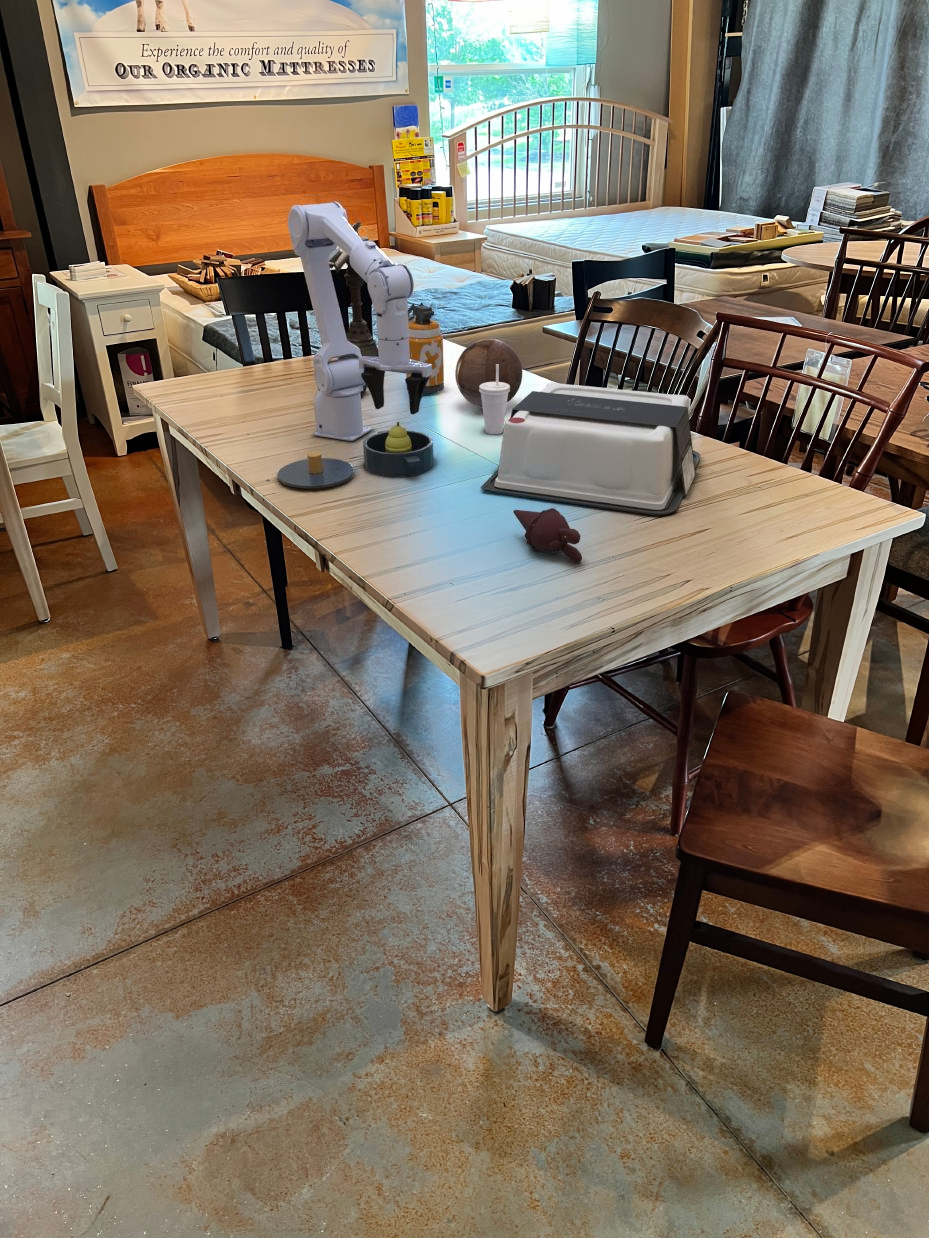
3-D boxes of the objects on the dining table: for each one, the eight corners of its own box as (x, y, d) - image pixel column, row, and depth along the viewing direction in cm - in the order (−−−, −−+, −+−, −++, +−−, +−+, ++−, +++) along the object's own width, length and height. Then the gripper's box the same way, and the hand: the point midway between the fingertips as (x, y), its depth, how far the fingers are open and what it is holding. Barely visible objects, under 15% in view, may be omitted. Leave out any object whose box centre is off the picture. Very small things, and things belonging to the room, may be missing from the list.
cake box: (477, 492, 155) (477, 424, 148) (533, 434, 181) (535, 374, 175) (674, 520, 144) (683, 448, 137) (704, 454, 170) (713, 391, 163)
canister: (416, 398, 204) (412, 310, 194) (397, 387, 212) (393, 301, 202) (450, 393, 208) (448, 306, 197) (430, 382, 216) (427, 298, 206)
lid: (287, 496, 154) (284, 472, 152) (271, 470, 166) (268, 447, 163) (364, 484, 159) (362, 460, 157) (343, 459, 170) (341, 437, 168)
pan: (381, 486, 158) (379, 463, 156) (352, 453, 173) (351, 431, 170) (448, 475, 162) (448, 452, 160) (415, 444, 177) (414, 423, 175)
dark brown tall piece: (334, 375, 222) (320, 226, 204) (315, 364, 232) (300, 221, 214) (392, 366, 229) (384, 221, 211) (371, 355, 239) (362, 216, 221)
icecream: (493, 504, 134) (559, 544, 125) (529, 482, 137) (596, 520, 128) (499, 539, 139) (563, 580, 130) (533, 516, 142) (598, 555, 132)
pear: (381, 464, 166) (378, 423, 162) (394, 455, 170) (392, 416, 166) (404, 468, 164) (402, 427, 160) (416, 459, 168) (415, 419, 164)
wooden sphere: (525, 398, 203) (526, 332, 195) (517, 418, 190) (518, 349, 183) (462, 396, 205) (461, 331, 198) (450, 415, 193) (448, 347, 185)
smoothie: (506, 437, 180) (507, 369, 173) (476, 435, 181) (476, 368, 174) (511, 427, 185) (512, 361, 178) (482, 425, 187) (482, 360, 179)
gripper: (347, 338, 157) (353, 411, 164) (417, 346, 152) (420, 421, 159) (367, 329, 163) (372, 401, 170) (436, 337, 157) (438, 410, 164)
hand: (397, 410), depth 165 cm, fingers open, 7 cm apart
